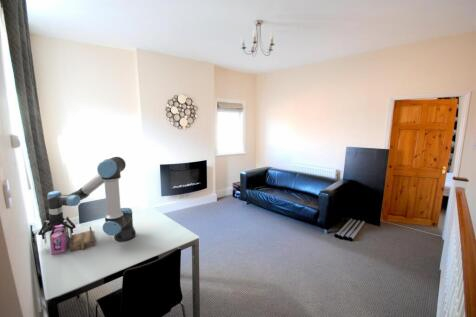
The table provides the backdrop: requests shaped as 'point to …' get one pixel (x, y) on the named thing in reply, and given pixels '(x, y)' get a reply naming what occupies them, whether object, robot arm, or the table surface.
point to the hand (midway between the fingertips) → (58, 240)
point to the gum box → (59, 238)
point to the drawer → (81, 240)
